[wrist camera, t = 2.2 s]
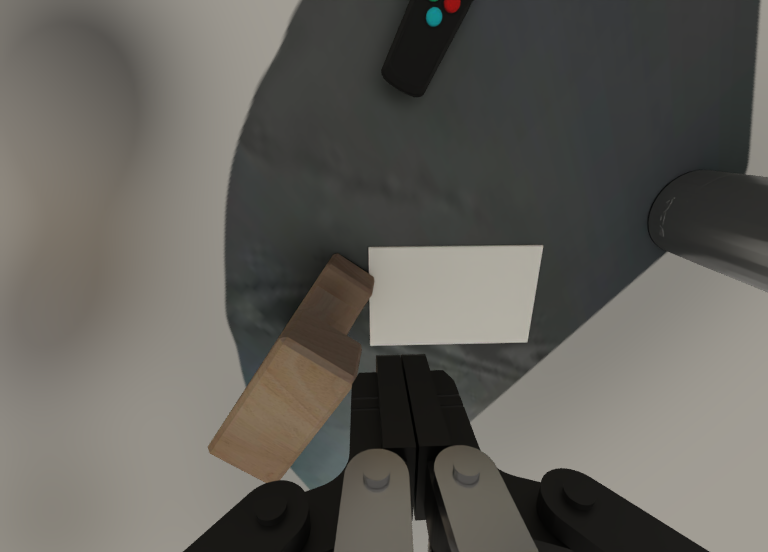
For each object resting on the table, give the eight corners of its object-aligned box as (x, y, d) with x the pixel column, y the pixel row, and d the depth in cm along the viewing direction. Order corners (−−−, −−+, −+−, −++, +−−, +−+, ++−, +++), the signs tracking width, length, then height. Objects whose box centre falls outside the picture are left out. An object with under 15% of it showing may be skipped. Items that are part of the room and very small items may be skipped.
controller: (481, -31, 32) (527, -97, 23) (413, 108, 36) (429, 100, 27) (438, -61, 31) (468, -142, 22) (374, 85, 35) (375, 69, 26)
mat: (541, 244, 41) (543, 245, 41) (526, 340, 46) (527, 342, 46) (368, 246, 41) (368, 247, 40) (370, 343, 45) (370, 345, 45)
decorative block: (336, 250, 41) (281, 335, 22) (378, 278, 42) (360, 384, 23) (285, 322, 44) (200, 452, 25) (325, 348, 45) (272, 491, 26)
